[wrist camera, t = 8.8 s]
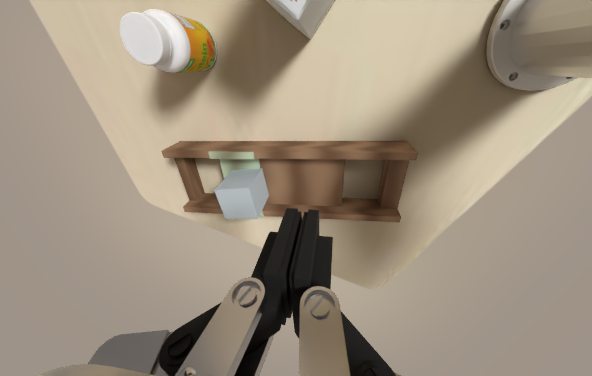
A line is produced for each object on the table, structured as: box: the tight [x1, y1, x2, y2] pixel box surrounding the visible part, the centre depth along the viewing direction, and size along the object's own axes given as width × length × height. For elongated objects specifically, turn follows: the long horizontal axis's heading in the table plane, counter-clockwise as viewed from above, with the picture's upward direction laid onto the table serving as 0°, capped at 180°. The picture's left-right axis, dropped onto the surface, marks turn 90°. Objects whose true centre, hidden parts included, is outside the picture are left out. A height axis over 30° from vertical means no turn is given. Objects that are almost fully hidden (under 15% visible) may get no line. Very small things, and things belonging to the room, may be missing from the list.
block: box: [214, 168, 269, 220], centre depth 31 cm, size 5×5×6 cm
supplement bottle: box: [120, 9, 217, 73], centre depth 23 cm, size 5×5×10 cm
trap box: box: [162, 141, 418, 222], centre depth 33 cm, size 35×11×5 cm, turn 92°
